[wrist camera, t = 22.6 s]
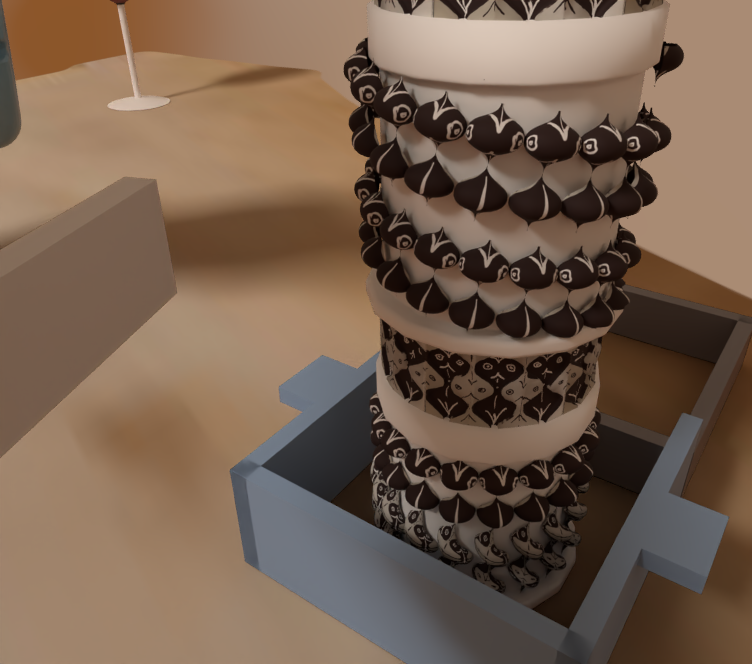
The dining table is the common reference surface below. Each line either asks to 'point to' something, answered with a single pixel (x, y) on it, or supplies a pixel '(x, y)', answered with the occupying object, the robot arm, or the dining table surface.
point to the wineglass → (133, 74)
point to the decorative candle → (498, 262)
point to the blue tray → (423, 572)
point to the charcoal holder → (684, 335)
